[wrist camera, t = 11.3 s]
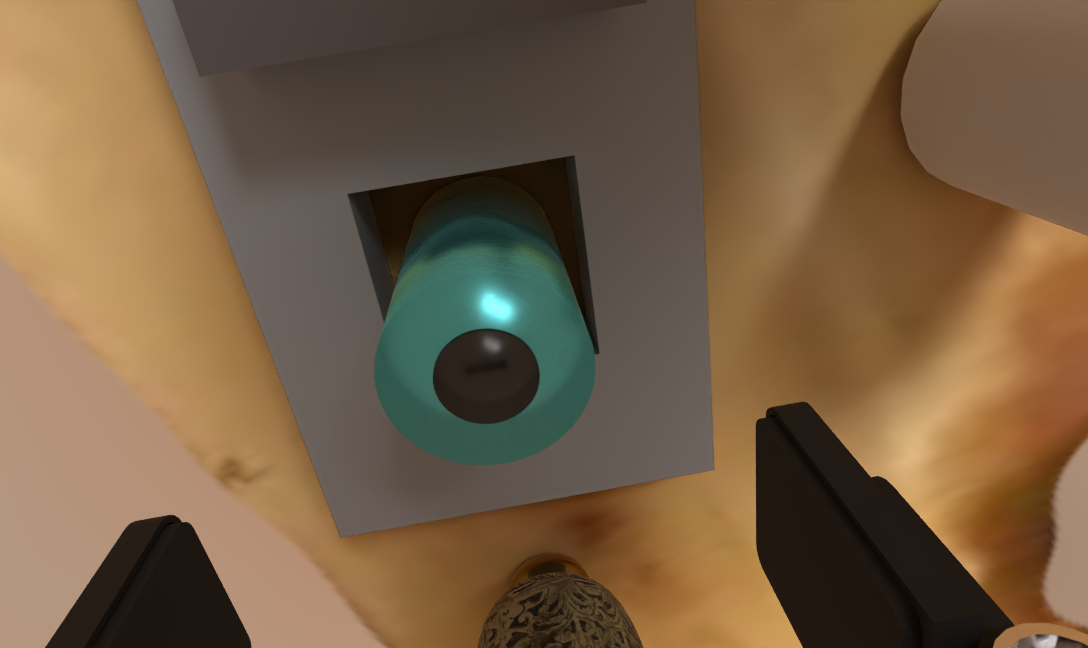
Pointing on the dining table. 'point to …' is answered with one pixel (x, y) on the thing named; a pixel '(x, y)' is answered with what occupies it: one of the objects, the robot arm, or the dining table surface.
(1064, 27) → the can
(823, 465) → the robot arm
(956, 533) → the dining table surface
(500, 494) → the plate
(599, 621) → the cup
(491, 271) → the teal translucent cylinder
